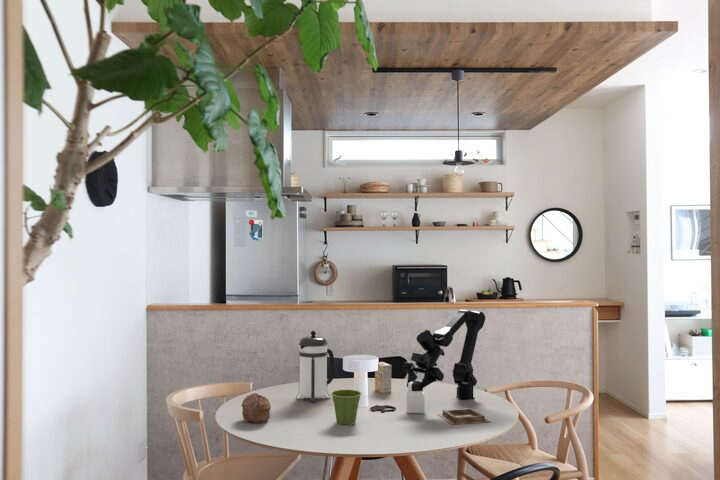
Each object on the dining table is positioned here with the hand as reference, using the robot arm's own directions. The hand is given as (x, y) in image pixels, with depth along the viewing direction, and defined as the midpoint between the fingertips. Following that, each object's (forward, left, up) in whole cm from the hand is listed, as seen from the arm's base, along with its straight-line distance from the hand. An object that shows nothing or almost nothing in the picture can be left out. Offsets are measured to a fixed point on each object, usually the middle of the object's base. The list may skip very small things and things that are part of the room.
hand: (413, 388), depth 257 cm
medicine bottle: (-1, -1, -10) cm, 10 cm away
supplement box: (+2, -38, -10) cm, 39 cm away
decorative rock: (+63, -3, -10) cm, 64 cm away
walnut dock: (-16, +13, -10) cm, 23 cm away
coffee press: (+35, -33, -10) cm, 49 cm away
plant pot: (+30, +8, -10) cm, 33 cm away
